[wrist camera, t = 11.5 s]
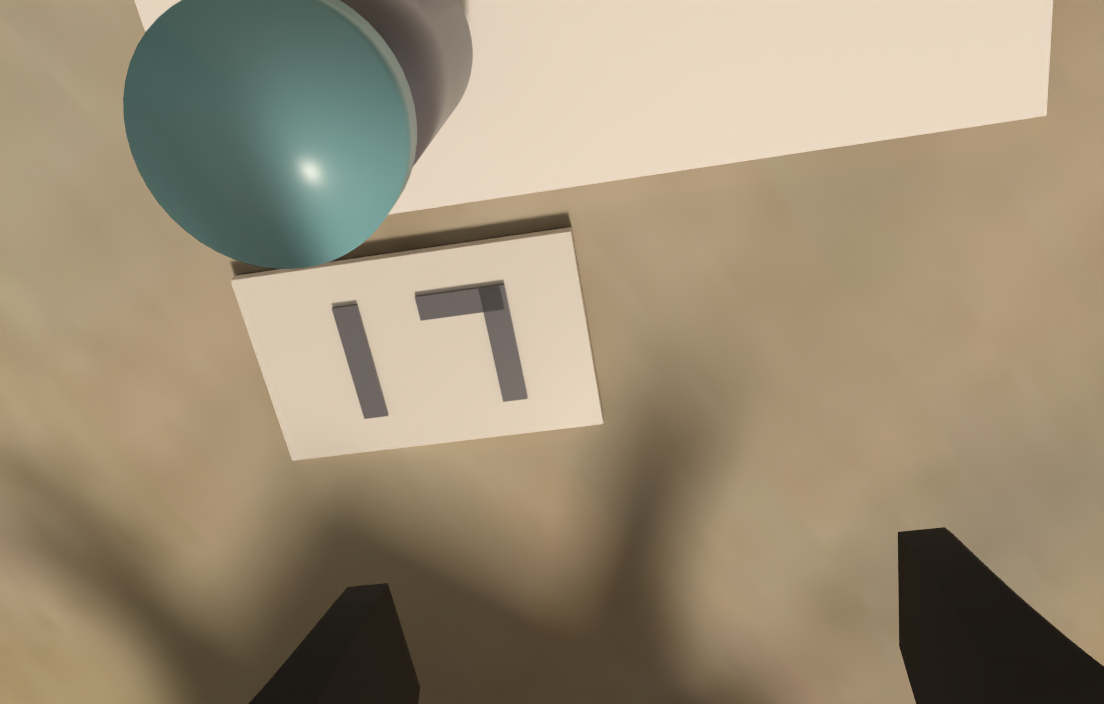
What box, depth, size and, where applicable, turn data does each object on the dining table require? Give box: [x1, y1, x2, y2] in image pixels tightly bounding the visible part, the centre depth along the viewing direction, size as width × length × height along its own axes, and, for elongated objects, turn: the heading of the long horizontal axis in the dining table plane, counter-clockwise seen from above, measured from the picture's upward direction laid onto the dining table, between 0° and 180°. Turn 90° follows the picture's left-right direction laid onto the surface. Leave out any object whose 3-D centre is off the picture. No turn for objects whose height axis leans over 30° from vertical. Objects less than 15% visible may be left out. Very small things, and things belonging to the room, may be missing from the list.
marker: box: [123, 0, 473, 269], centre depth 16 cm, size 4×4×8 cm
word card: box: [231, 227, 603, 461], centre depth 23 cm, size 8×5×1 cm, turn 100°
